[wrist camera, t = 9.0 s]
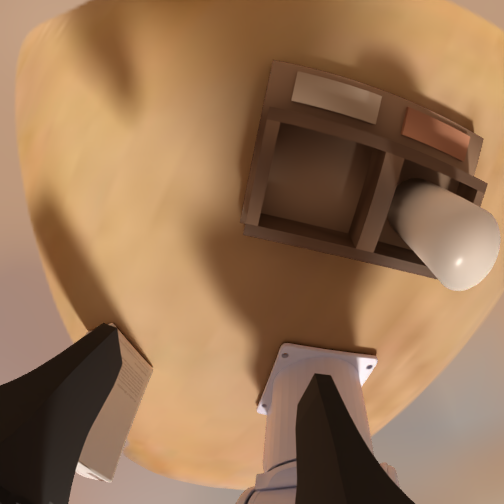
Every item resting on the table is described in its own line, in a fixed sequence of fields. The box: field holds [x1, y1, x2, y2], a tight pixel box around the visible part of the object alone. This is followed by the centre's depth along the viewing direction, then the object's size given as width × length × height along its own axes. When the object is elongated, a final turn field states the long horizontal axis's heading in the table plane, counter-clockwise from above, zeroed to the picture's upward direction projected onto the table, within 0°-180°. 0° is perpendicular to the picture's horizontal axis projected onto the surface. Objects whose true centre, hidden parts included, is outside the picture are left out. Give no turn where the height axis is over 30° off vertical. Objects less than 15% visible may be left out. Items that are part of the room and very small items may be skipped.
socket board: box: [240, 60, 487, 279], centre depth 14 cm, size 9×13×3 cm
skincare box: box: [76, 323, 153, 482], centre depth 18 cm, size 6×4×12 cm
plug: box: [388, 178, 500, 291], centre depth 12 cm, size 4×4×6 cm
